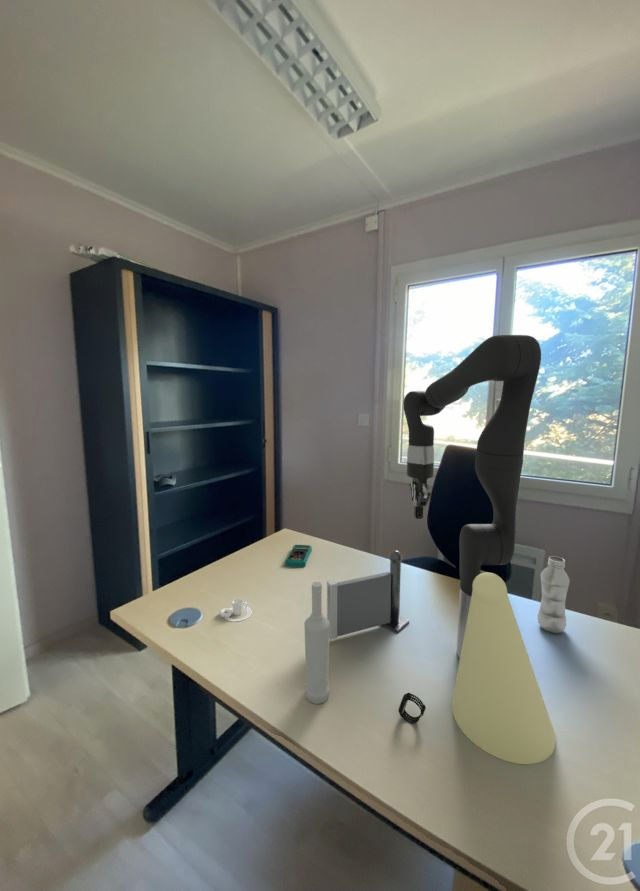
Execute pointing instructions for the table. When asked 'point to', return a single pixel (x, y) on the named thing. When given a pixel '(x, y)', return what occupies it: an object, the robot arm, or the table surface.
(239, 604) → the teacup and saucer
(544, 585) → the plastic bottle
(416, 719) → the smartwatch
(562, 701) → the table surface
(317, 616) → the bottle
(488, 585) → the cone light
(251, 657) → the table surface
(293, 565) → the digital multimeter
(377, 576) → the gate
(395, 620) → the gate post
